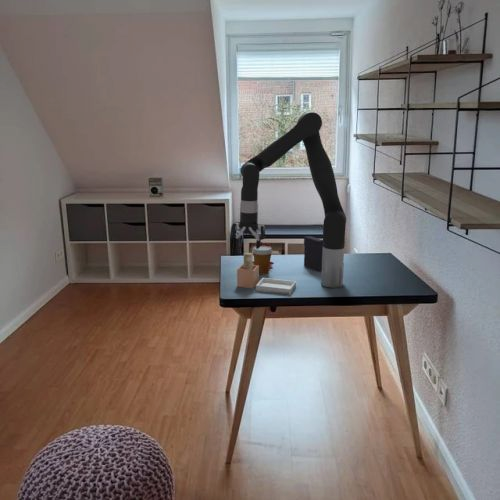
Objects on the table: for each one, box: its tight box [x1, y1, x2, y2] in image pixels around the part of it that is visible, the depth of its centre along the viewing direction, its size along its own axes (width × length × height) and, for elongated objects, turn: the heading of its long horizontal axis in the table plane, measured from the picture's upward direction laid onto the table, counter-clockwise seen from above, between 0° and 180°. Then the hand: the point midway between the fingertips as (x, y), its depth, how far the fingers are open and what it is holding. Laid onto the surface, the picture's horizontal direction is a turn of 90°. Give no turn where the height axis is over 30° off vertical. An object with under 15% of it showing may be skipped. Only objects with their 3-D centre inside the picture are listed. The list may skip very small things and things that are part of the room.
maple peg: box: [243, 252, 254, 270], centre depth 220 cm, size 4×4×14 cm
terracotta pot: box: [236, 263, 260, 289], centre depth 221 cm, size 8×8×8 cm
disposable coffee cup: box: [251, 245, 273, 275], centre depth 237 cm, size 10×10×12 cm
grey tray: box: [255, 277, 297, 296], centre depth 217 cm, size 15×11×2 cm
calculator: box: [303, 235, 323, 272], centre depth 245 cm, size 11×4×15 cm, turn 34°
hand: (248, 247), depth 217 cm, fingers open, 8 cm apart
